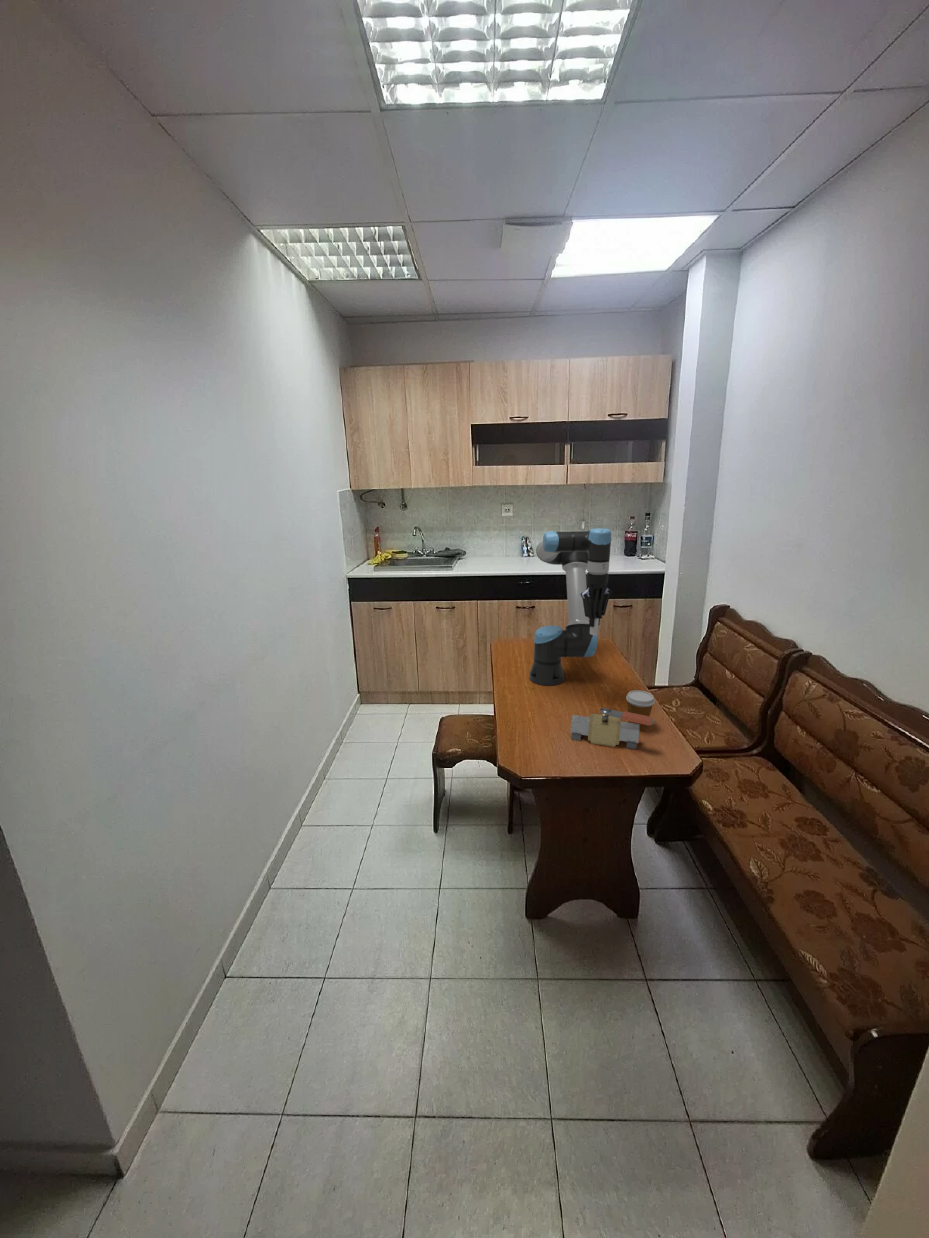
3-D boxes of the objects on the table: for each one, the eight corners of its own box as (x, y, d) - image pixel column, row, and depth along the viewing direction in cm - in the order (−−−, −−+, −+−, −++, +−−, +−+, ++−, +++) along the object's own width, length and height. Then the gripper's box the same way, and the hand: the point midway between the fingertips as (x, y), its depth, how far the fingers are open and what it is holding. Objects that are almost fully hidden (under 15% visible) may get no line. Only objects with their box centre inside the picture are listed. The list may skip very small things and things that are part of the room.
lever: (599, 714, 162) (599, 711, 162) (601, 710, 165) (601, 706, 165) (652, 726, 155) (652, 722, 154) (653, 721, 158) (654, 717, 157)
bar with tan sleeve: (569, 739, 166) (571, 714, 163) (572, 729, 173) (573, 705, 170) (637, 750, 159) (640, 724, 156) (637, 739, 166) (640, 714, 163)
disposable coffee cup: (648, 735, 168) (651, 704, 164) (620, 728, 173) (623, 698, 169) (654, 723, 176) (657, 693, 172) (627, 716, 181) (630, 687, 177)
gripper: (590, 576, 168) (586, 640, 175) (619, 572, 173) (614, 634, 180) (576, 572, 174) (573, 634, 181) (604, 568, 180) (600, 628, 187)
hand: (593, 634), depth 181 cm, fingers closed
